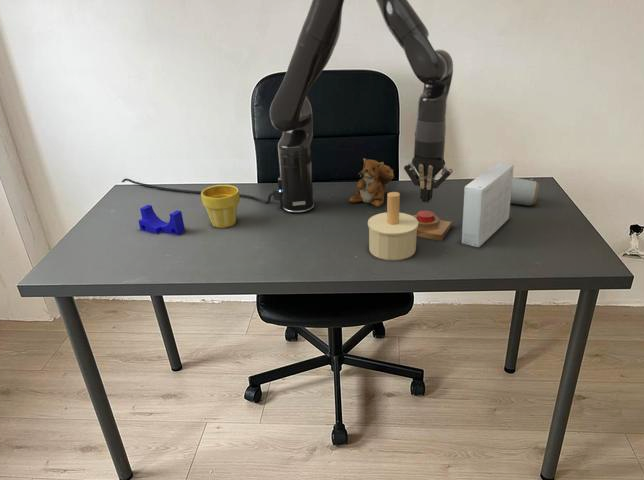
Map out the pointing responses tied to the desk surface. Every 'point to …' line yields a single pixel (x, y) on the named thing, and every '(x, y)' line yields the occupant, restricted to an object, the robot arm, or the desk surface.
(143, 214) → the blue cradle stand
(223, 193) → the flower pot
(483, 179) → the skincare box
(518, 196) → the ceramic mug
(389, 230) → the lid
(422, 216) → the button
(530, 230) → the desk surface
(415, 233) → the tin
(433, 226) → the button block
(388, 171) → the stuffed squirrel
